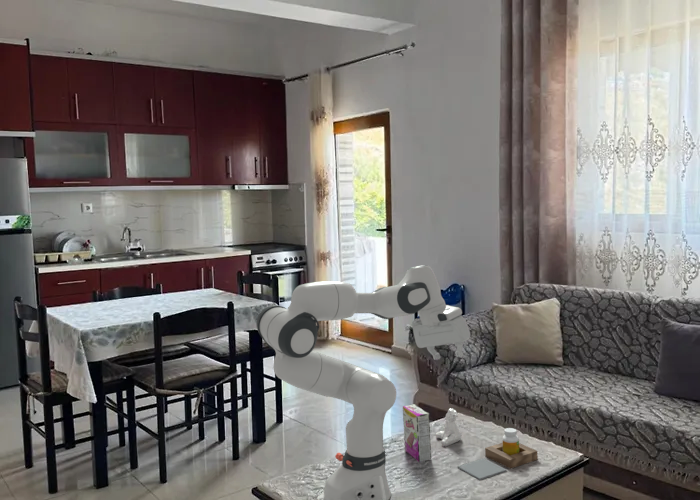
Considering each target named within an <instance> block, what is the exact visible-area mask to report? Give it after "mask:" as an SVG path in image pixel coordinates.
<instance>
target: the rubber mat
mask: <svg viewBox="0 0 700 500" xmlns="http://www.w3.org/2000/svg"><path fill="white" fill-rule="evenodd" d="M457 468H458V470H461V471H463V472H464V473H466V474H468V475H470V476H472V477H474V478H475V479H477V480H479V481H482V480H483V479H484V480H485V479H487V478H490V477H494V476H496V475H499V474H502V473H505V472H507V470H508V469H506V468H504V467H502V465H501V466H500V465H498V464H496V462H494V461H491V460H490V459H489V460H488V459H486V457H483V458H480V459H476V460H473V461H470V462H468V463H464V464H460V465H458V466H457Z"/></svg>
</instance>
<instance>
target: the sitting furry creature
mask: <svg viewBox="0 0 700 500" xmlns="http://www.w3.org/2000/svg"><path fill="white" fill-rule="evenodd" d="M458 415H459V414H458V412H457V410H456V409H454V408H453V407H452V408H451V407H450V408H448V410H447V413H446V414H445V418H444V419H445V423H444V425H443V427H444V428H443V431H442V430H441V431H437V432H436V433H435V438H436V439H439V440H441V446H442V447H447V446H452V445H453V444H456V443H458V442H459V441H460V440H461V439H462V435H463V434H462V432H461V430H460V428H459V426H458V425H457V422H456V420H457V419H458Z"/></svg>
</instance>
